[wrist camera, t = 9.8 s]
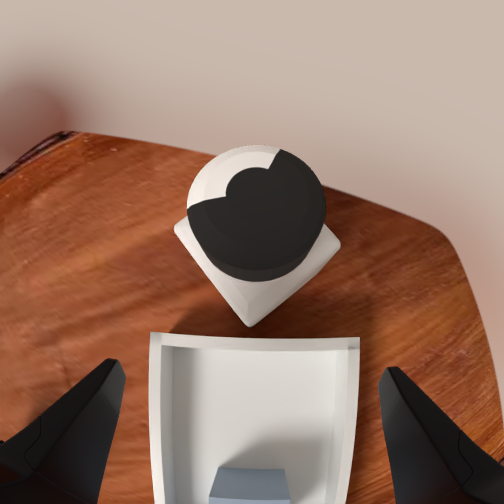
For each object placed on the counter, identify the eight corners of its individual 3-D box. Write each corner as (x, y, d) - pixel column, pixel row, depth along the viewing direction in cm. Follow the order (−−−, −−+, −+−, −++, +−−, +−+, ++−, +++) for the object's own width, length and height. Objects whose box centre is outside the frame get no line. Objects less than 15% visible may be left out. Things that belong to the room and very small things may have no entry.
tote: (326, 520, 16) (336, 543, 13) (172, 515, 17) (159, 537, 13) (342, 337, 21) (359, 337, 18) (168, 333, 22) (150, 331, 18)
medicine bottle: (319, 271, 23) (375, 207, 12) (249, 329, 22) (240, 319, 10) (263, 207, 25) (267, 105, 13) (194, 258, 24) (141, 185, 12)
